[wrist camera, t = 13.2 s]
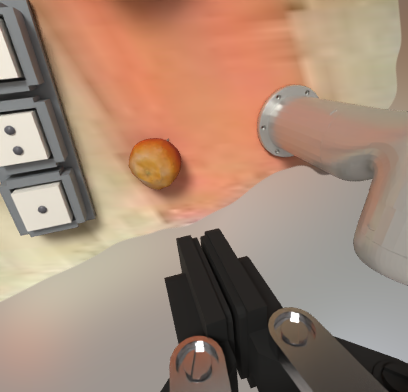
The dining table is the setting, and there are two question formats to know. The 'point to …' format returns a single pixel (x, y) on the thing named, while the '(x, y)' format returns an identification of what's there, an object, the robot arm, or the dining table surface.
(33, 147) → the two dot tile
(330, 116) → the robot arm
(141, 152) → the fruit
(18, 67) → the three dot tile
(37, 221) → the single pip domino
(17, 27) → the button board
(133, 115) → the dining table surface
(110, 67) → the dining table surface
